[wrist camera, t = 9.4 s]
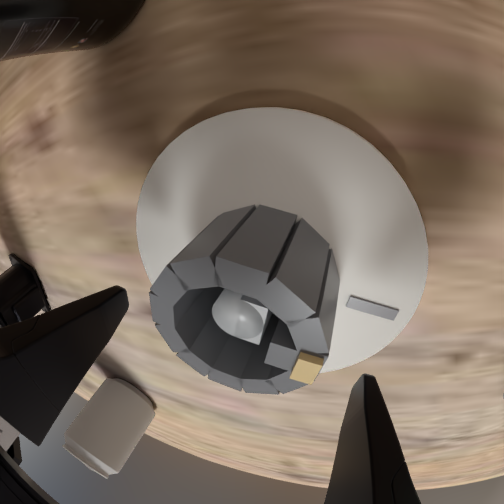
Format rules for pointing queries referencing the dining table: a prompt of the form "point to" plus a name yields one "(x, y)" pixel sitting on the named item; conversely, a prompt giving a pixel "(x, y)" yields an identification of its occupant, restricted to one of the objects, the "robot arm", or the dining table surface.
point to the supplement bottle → (60, 25)
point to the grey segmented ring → (255, 286)
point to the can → (109, 426)
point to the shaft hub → (304, 206)
